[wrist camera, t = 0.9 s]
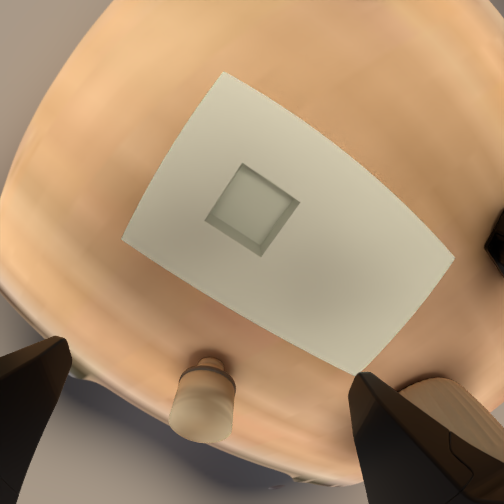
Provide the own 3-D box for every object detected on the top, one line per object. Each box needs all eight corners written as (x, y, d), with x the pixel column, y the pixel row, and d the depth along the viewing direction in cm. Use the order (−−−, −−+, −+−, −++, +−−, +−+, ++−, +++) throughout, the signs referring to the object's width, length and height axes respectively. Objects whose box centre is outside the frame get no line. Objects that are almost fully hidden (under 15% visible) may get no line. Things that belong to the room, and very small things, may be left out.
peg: (247, 363, 24) (245, 423, 17) (220, 392, 25) (212, 449, 18) (200, 338, 23) (184, 396, 17) (177, 370, 24) (158, 426, 18)
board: (431, 244, 21) (455, 257, 17) (345, 351, 24) (355, 376, 20) (228, 86, 17) (223, 71, 14) (140, 227, 20) (120, 239, 17)
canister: (311, 448, 28) (332, 596, 8) (402, 337, 23) (513, 522, 3) (409, 451, 30) (447, 554, 10) (488, 363, 25) (566, 466, 5)
